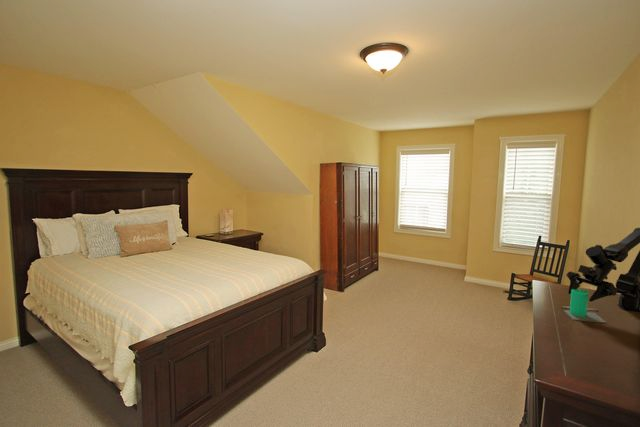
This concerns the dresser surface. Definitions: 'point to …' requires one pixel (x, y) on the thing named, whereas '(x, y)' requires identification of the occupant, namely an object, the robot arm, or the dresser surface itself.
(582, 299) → the candle
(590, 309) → the line strip
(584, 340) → the dresser surface
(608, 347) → the dresser surface
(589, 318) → the mat
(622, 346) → the dresser surface
